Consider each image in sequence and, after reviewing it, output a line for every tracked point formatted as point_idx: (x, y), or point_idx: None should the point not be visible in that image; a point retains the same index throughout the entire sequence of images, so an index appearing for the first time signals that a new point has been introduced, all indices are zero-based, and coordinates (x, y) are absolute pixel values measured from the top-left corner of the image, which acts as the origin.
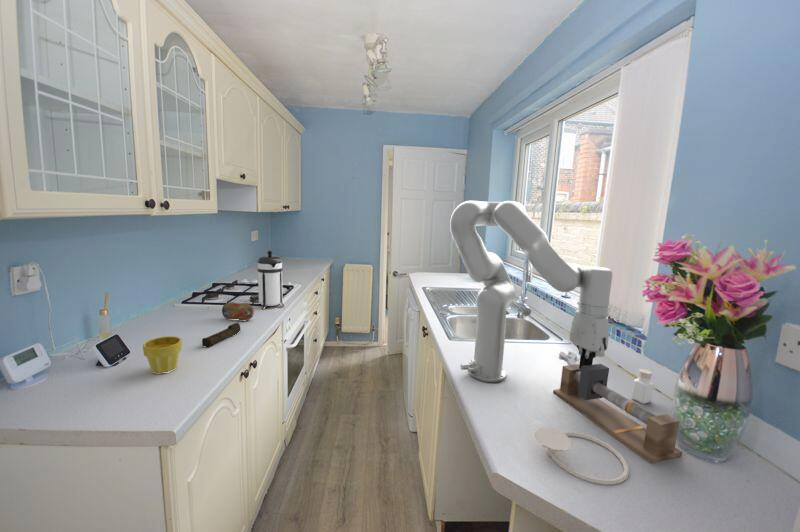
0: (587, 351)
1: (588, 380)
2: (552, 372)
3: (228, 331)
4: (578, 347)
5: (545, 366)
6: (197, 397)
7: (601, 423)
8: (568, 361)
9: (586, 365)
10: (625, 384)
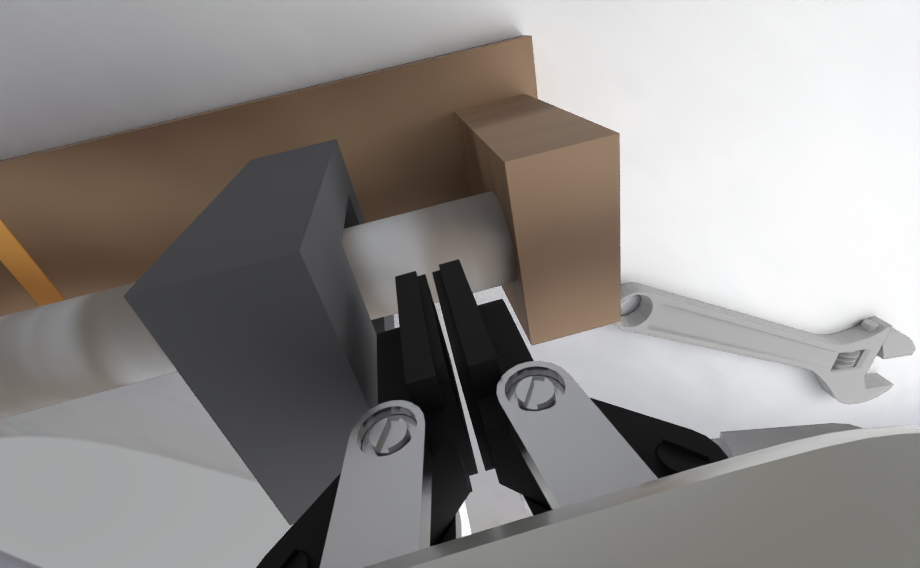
0: (381, 534)
1: (187, 229)
2: (763, 191)
3: None
4: (662, 447)
5: (841, 184)
6: None
7: (63, 156)
8: (816, 338)
9: (332, 331)
10: None
